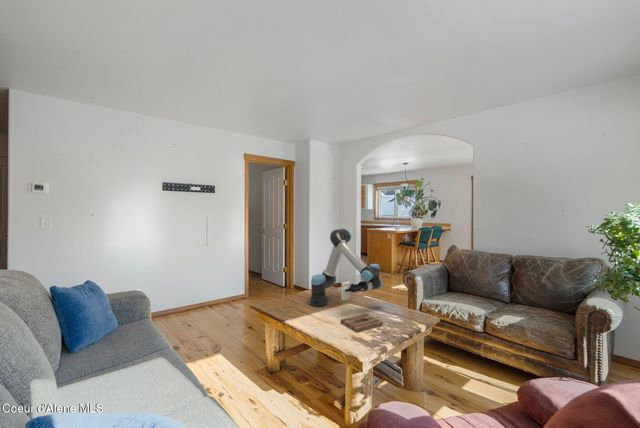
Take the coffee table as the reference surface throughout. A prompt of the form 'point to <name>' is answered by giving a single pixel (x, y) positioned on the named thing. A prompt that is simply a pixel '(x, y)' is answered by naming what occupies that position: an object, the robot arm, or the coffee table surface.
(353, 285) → the robot arm
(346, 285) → the tall cream pillar
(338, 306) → the coffee table surface
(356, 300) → the coffee table surface
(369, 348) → the coffee table surface
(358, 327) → the brown slotted base plate
